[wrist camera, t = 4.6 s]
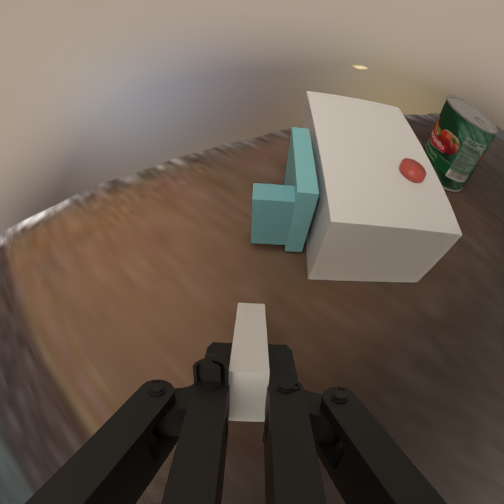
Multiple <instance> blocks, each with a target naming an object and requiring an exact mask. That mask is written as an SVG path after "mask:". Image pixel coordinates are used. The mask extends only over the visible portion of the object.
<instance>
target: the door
mask: <svg viewBox="0 0 504 504" xmlns="http://www.w3.org/2000/svg"><path fill="white" fill-rule="evenodd" d="M318 196H319V190H318V183H317V176H316V169H315V162H314V156H313V150H312V144H311V138H310V132H309V129H307V128H296V127H292V130H291V137H290V144H289V151H288V158H287V165H286V172H285V179H284V185H275V184H258V183H253V198H252V226H251V243H258V244H276V245H285V251H289V252H302V250H303V246H304V243H305V240H306V237H307V233H308V230H309V227H310V223H311V220H312V217H313V213H314V210H315V206H316V203H317V200H318Z"/></svg>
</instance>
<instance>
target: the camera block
mask: <svg viewBox="0 0 504 504" xmlns="http://www.w3.org/2000/svg"><path fill="white" fill-rule="evenodd" d="M301 128H307V129H309V132H310V138H311V144H312V150H313V156H314V162H315V169H316V176H317V183H318V190H319V196H318V200H317V203H316V206H315V210H314V213H313V217H312V220H311V223H310V227H309V230H308V233H307V237H306V253H307V272H308V279H311V280H337V281H369V282H412V283H417V282H418V281H419V280H420V279H421V278H422V277H423V276H424V275H425V274H426V273H427V272H428V271H429V270H430V269H431V268H432V267H433V266H434V265H435V264H436V263H437V262H438V261H439V260H440V259H441V258H442V257H443V256H444V255H445V253H446V252H447V251H448V250H449V249H450V248H451V247H452V246H453V245H454V244H455V243H456V241H457V240H458V239H459V238H460V237H461V236H462V233H461V230H460V227H459V225H458V222H457V220H456V217H455V215H454V212H453V210H452V207H451V205H450V203H449V200H448V198H447V196H446V194H445V191H444V189H443V187H442V185H441V183H440V181H439V179H438V176H437V174H436V172H435V170H434V168H433V166H432V164H431V163H430V161H429V159H428V157H427V155H426V153H425V151H424V149H423V148H422V146H421V144H420V142H419V141H418V139H417V137H416V135H415V134H414V132H413V130H412V129H411V127H410V125H409V124H408V122H407V120H406V119H405V117H404V116H403V114H402V113H401V111H400V109H399V108H398V107H394V106H390V105H385V104H381V103H376V102H371V101H367V100H362V99H356V98H351V97H345V96H339V95H332V94H326V93H318V92H311V91H307V92H306V98H305V105H304V112H303V118H302V124H301Z"/></svg>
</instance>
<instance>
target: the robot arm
mask: <svg viewBox="0 0 504 504" xmlns="http://www.w3.org/2000/svg"><path fill="white" fill-rule="evenodd" d="M193 374H194V384H193V385H191V386H189V387H185V388H176V389H174V388H173V386H172V385H171V384H170V383H169V382H167V381H164V380H151V381H148V382H146V383H144V384H143V385H142V386H141V387H140V388H139V389H138V390H137V391H136V392H135V393H134V394H133V395H132V396H131V397H130V398H129V399H128V400H127V401H126V402H125V403H124V404H123V405H122V406H121V407H120V409H119V410H118V411H117V412H116V413H115V414H114V415H113V416H112V417H111V418H110V419H109V420H108V421H107V422H106V423H105V424H104V425H103V426H102V427H101V428H100V429H99V430H98V431H97V432H96V433H95V434H94V435H93V436H92V437H91V438H90V439H89V440H88V441H87V442H86V443H85V444H84V445H83V446H82V447H81V448H80V449H79V450H78V451H77V452H76V453H75V454H74V455H73V456H72V457H71V458H70V459H69V460H68V461H67V462H66V463H65V464H64V465H63V466H62V467H61V468H60V469H59V470H58V471H57V472H56V473H55V474H54V475H53V476H52V477H51V478H50V479H49V480H48V481H47V482H46V483H45V484H44V485H43V486H42V487H41V488H40V489H39V490H38V491H37V492H36V493H35V494H34V495H33V496H32V497H31V498H30V499H29V500H28V501H27V502H26V503H25V504H136V502H137V501H138V499H139V498H140V496H141V495H142V494H143V492H144V491H145V489H146V488H147V486H148V485H149V483H150V482H151V481H152V479H153V478H154V476H155V475H156V473H157V472H158V470H159V469H160V467H161V466H162V464H163V463H164V461H165V460H166V458H167V457H168V455H169V454H170V452H171V451H172V449H173V448H174V446H175V445H176V443H177V442H178V443H177V446H176V450H175V454H174V457H173V461H172V465H171V469H170V472H169V476H168V480H167V484H166V488H165V491H164V495H163V499H162V503H161V504H221V500H222V489H223V479H224V468H225V458H226V448H227V438H228V420H231V421H249V422H264V421H265V427H264V435H263V442H264V451H265V495H266V504H326V498H325V493H324V488H323V483H322V477H321V472H320V467H319V462H318V457H317V454H318V456H319V458H320V459H321V461H322V463H323V465H324V467H325V468H326V470H327V472H328V474H329V475H330V477H331V479H332V481H333V482H334V484H335V486H336V488H337V489H338V491H339V493H340V495H341V496H342V498H343V500H344V501H345V503H346V504H447V503H446V502H445V501H444V499H443V498H442V497H441V496H440V495H439V494H438V492H437V491H436V490H435V489H434V488H433V487H432V485H431V484H430V483H429V482H428V481H427V480H426V478H425V477H424V476H423V475H422V474H421V473H420V471H419V470H418V469H417V468H416V467H415V465H414V464H413V463H412V462H411V461H410V460H409V458H408V457H407V456H406V455H405V454H404V452H403V451H402V450H401V449H400V448H399V447H398V445H397V444H396V443H395V442H394V441H393V439H392V438H391V437H390V436H389V435H388V433H387V432H386V431H385V430H384V429H383V427H382V426H381V425H380V424H379V423H378V421H377V420H376V419H375V418H374V417H373V415H372V414H371V413H370V412H369V411H368V409H367V408H366V407H365V406H364V405H363V403H362V402H361V401H360V400H359V399H358V397H357V396H356V395H355V394H354V393H353V392H352V391H351V390H349V389H346V388H342V387H332V388H329V389H327V390H326V391H325V392H324V393H323V395H322V394H317V393H312V392H309V391H307V390H305V389H303V386H302V384H301V383H300V382H298V379H297V374H296V369H295V364H294V359H293V354H292V350H291V349H290V348H289V347H288V346H287V345H269V344H268V342H267V329H266V316H265V304H254V303H238V307H237V315H236V322H235V329H234V336H233V344H232V343H217V342H213V343H212V344H211V345H210V346H209V347H208V348H207V352H206V355H205V359H201V360H199V361H197V362H196V363H195V364H194V365H193Z"/></svg>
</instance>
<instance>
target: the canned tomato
mask: <svg viewBox="0 0 504 504" xmlns="http://www.w3.org/2000/svg"><path fill="white" fill-rule="evenodd" d="M496 134H497V128H496V126H495V124H494V123H493V122H492V121H491V119H490V118H489V117H488V116H487V115H486V114H484V113H483V112H482V111H481V110H480V109H478V108H477V107H476V106H474V105H472V104H471V103H469V102H468V101H466V100H464V99H462V98H460V97H457V96H453V95H449V96H448V97H447V100H446V102H445V104H444V106H443V108H442V111H441V113H440V116H439V117H438V120H437V122H436V125H435V126H434V129H433V131H432V133H431V135H430V137H429V139H428V141H427V143H426V146H425V147H424V151H425V153H426V155H427V157H428V159H429V161H430V163H431V164H432V166H433V168H434V170H435V172H436V174H437V176H438V179H439V181H440V183H441V185H442V187H443V189H445V190H447V191H451V192H459V191H461V189H462V188H463V186H464V185H465V183H466V182H467V180H468V179H469V177H470V176H471V174H472V173H473V171H474V170H475V168H476V166H477V165H478V164H479V162H480V160H481V158H482V157H483V156H484V153H485V152H486V150H487V148H488V147H489V145H490V143H491V142H492V140H493V138H494V136H495V135H496Z"/></svg>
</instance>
